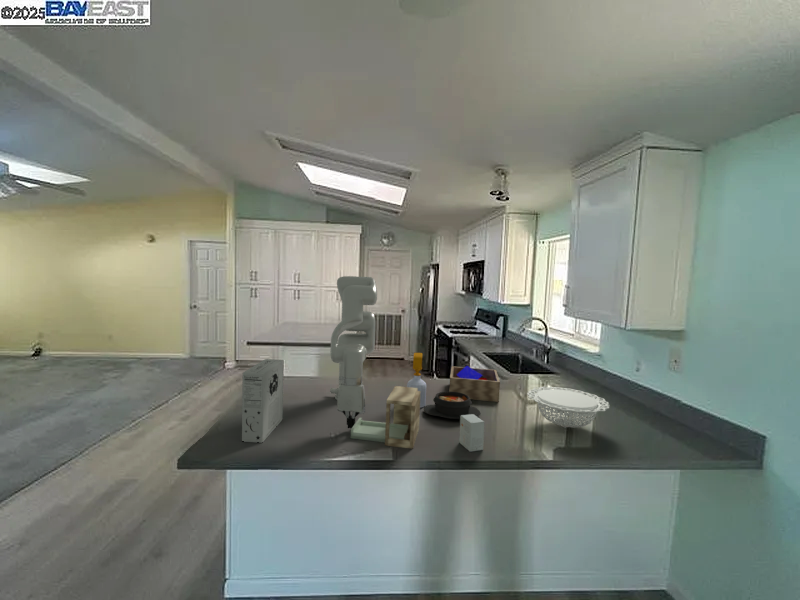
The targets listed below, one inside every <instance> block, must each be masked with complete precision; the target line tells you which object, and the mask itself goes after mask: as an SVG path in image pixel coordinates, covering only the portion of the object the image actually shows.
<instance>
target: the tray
mask: <svg viewBox="0 0 800 600" xmlns="http://www.w3.org/2000/svg"><path fill="white" fill-rule="evenodd" d="M385 429H386V422H383V421H382V422H380V421H370V420H364V419H363V417H358V419H357V420H356V421H355V424H354V426H353V427H352V428H351V429H350V439H352V440H353V439H354V440H362V441H371V442H380V443H385ZM405 433H408V425H401V424H393V423H392V422H391V423H390V427H389V438H394V439H403V440H404V436H405Z"/></svg>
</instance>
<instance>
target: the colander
mask: <svg viewBox="0 0 800 600" xmlns="http://www.w3.org/2000/svg"><path fill="white" fill-rule="evenodd" d="M526 394H527V396H528V398H529V399H530V400H533V401H534V402H535V403H537V408H538V410H539V412H540V414H541V416H542V417H543V418H544V419H546V420H547V421H548V422H551V423H553V424H555V425H558V426H561V427H562V428H581V427H585V426H587V425H589V424H591V422H593V421H594V420H595V418H596V417H597V413H599V412H606V411H607V410H609V409H610V407H611V406H610V403H609V401H606V399H605V398H603V397H599V396H598V395H596V394H593V393H589V392H585V391H582V390H577V389H573V388H569V387H560V386H559V387H558V386H553V387H552V386H541V387H537V388H536V387H533V388H532V389H531V388H530V389H528V391H527V393H526Z"/></svg>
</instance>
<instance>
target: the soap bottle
mask: <svg viewBox="0 0 800 600" xmlns="http://www.w3.org/2000/svg"><path fill="white" fill-rule="evenodd" d="M412 369H413V370H414V372H415V373H413V378H411V379H409V381H407V383H406V387H412V388H418V391H421V393H420V409H422V408H424V407H425V406H427V405H426V403H427V400H426V399H427V383H426V382H425V380H424V379H422V378H421V376H422V374H421V373H420V371H422V369H423V353H422V352H414V353H413V358H412Z"/></svg>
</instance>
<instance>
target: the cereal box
mask: <svg viewBox="0 0 800 600" xmlns="http://www.w3.org/2000/svg"><path fill="white" fill-rule="evenodd" d="M241 381H242V385H241V387H242V393H241V400H242V401H241V442H242V441H244V442H243V443H257V442H259V443H261V444H262V442H263V443H264V441H265V440H266V439H267V438H268V437H269V436H270V435H271V433H272V432H273V431H275V429H276V428H277V427H278V426H279V424H280V423H281V422H282V421H283V417H284V414H283V410H284V408H283V407H284V405H283V404H284V359H275V358H274V359H272V358H270V359H269V358H265V359H264V360H262V361H260V362H258V363H257V364H255V365H253V366H252V367H250V368H248V369H246V370H245V371H243V372H242V379H241ZM276 426H277V427H276Z"/></svg>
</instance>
